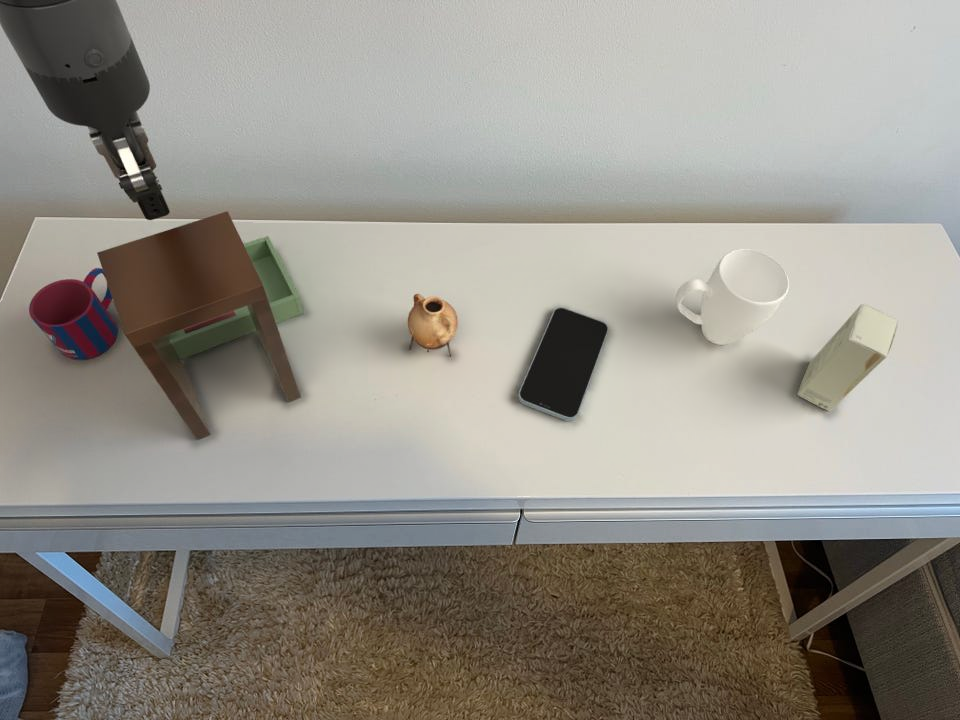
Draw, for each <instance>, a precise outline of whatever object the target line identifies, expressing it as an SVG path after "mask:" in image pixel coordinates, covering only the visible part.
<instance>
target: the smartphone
mask: <svg viewBox="0 0 960 720" xmlns="http://www.w3.org/2000/svg"><path fill="white" fill-rule="evenodd" d="M609 329H610V328H609V325H608V323H606V322H605V321H602V320H600V319H597V318H594V317H592V316H589V315H586V314H583V313H581V312H578V311H575V310H572V309H570V308H567V307H564V306H563V307H562V306H560V307H556V308H555V309H554V310H553V311H552V314H551V316H550V318H549V321H548V323H547V326H546V328H545V329H544V332H543V334H542V338H541V339H540V342H539V344H538V347H537V349H536V351H535V353H534V355H533V358H532V360H531V362H530V365H529V368H528V369H527V371H526V374H525V377H524V379H523V381H522V384H521V386H520V388H519V391H518V395H517V397H518V401H519V402H520V403H521V404H522V405H524V406H526V407H529V408H532V409H534V410H537V411H539V412H542V413H545V414H547V415H550V416H553V417H555V418H557V419H559V420H562V421H565V422H572V421H574V420H576V418H577V417H578V416H579V413H580V410H581V407H582V406H583V403H584V400H585V398H586V394H587V392H588V389H589V386H590V383H591V380H592V377H593V375H594V372H595V369H596V366H597V363H598V361H599V358H600V355H601V353H602V350H603V347H604V344H605V341H606V339H607V336H608V333H609Z"/></svg>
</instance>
